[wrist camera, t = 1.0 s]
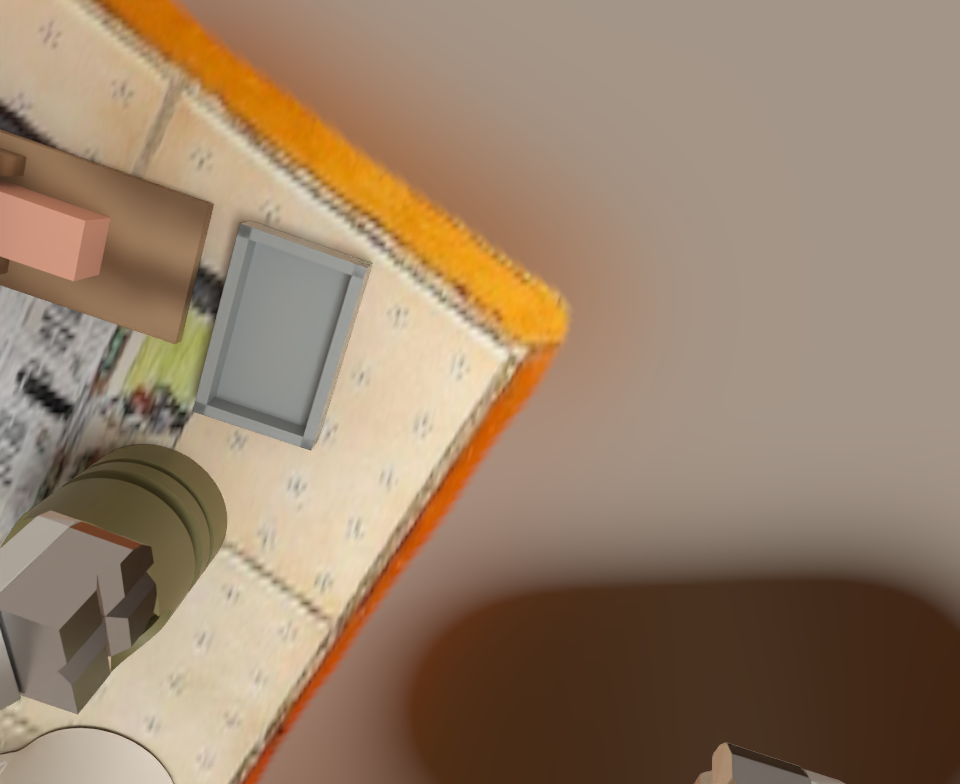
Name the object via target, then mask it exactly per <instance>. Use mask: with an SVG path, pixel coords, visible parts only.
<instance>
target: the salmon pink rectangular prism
mask: <svg viewBox="0 0 960 784" xmlns="http://www.w3.org/2000/svg"><path fill="white" fill-rule="evenodd" d="M109 223H110V218H109V217H106V216H104V215H101V214H98V213H95V212H92V211H89V210H86V209H83V208H81V207H78V206H75V205H72V204H69V203H66V202H63V201H60V200H58V199H55V198H52V197H49V196H46V195H43V194H40V193H37V192H35V191H32V190H29V189H26V188H23V187H20V186H17V185H14V184H12V183H9V182H6V181H3V180H0V256H1V257H3V258H6V259H9V260H12V261H15V262H18V263H21V264H24V265H27V266H30V267H33V268H36V269H39V270H42V271H45V272H48V273H51V274H53V275H56V276H59V277H62V278H65V279H68V280H71V281H77V280H81V279H85V278H88V277H92V276H96V275H99V273H100V268H101V263H102V258H103V253H104V248H105V243H106V238H107V233H108V228H109Z"/></svg>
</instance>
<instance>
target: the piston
mask: <svg viewBox="0 0 960 784" xmlns="http://www.w3.org/2000/svg"><path fill="white" fill-rule="evenodd" d="M48 511H54V512H57V513H60V514H63V515H66V516H69V517H72V518H74V519H77V520H80V521H83V522H86V523H88V524H90V525H93V526H96V527H99V528H102V529H104V530H107V531H110V532H113V533H115V534H118V535H121V536H124V537H126V538H129V539H132V540H135V541H137V542H140V543H143V544H146V545H149V546H151V548H152V554H153V560H154V563H153V564H152V566H151V567H150V568H149V569H148V570H147V573H148V574H149V575H150V577H151V578H152V579H153V581H154V582H155V583H156V589H157V598H156V603H155V608H154V612H153V614H152V616H151V618H150V620H149V622H148V624H147V626H146V628H145V630H144V631H143V633H142V634H141V635H140V637H139V638H138V639H137V641H136V642H135V643H134V645H133V646H132V647H131V648H129V649H126V650H124V651H122V652H120V653H118V654H116V655H113V656H111V672H112V671H113V670H114V669H115V668H116V667H117V666H118V665H119V664H120V663H121V662H122V661H124V660H125V659H126V658H127V657H128V656H130V655H131V654H132V653H134V652H135V651H136V650H137V649H139V648H140V647H141V646H143V645H144V644H145V643H146V642H147V641H149V640H150V639H151V638H152V637H153V636H154V635H156V634H157V633H158V632H159V631H160V630H161V629H162V627H163V626H164V625H165V624H166V623H167V621H168V620H169V618H170V617H171V616H172V614H173V613H174V612H175V610H176V609H177V607H178V606H179V605H180V603H181V602H182V601H183V599H184V598H185V596H186V595H187V593H188V592H189V591H190V590H191V588H192V587H193V586H194V584H195V583H196V581H197V580H198V579H199V577H200V576H201V574H202V573H203V572H204V571H205V569H206V568H207V566H208V565H209V564H210V562H211V561H212V560H213V558H214V557H215V555H216V554H217V553H218V551H219V549H220V548H221V546H222V544H223V541H224V538H225V534H226V529H227V512H226V507H225V503H224V500H223V497H222V495H221V492H220V490H219V489H218V487H217V485H216V483H215V482H214V481H213V479H212V478H211V477H210V475H209V474H208V473H207V472H206V471H205V470H204V469H203V468H202V467H201V466H200V465H198V464H197V463H196V462H195V461H193V460H192V459H190V458H189V457H187V456H185V455H183V454H181V453H179V452H177V451H175V450H172V449H169V448H166V447H162V446H157V445H148V444H139V445H130V446H125V447H122V448H119V449H116V450H114V451H112V452H110V453H108V454H106V455H105V456H103V457H102V458H101V459H99V460H98V461H97V462H95V463H94V464H92V465H91V466H90V467H88V468H87V469H86V470H84V471H83V472H82V473H80V474H79V475H77V476H76V477H75V478H73V479H72V480H70V481H69V482H68V483H66V484H65V485H64V486H63V487H61V488H60V489H58V490H57V491H55V492H54V493H53V494H51V495H50V496H48V497H47V498H46V499H44V500H43V501H42V502H40V503H39V504H37V505H36V506H35V507H33V508H32V509H31V510H29V511H28V512H26V513H25V514H24V515H23V516H22V517H21V518H20V519H19V520H18V522H17V523H16V524H15V526H14V527H13V528H12V530H11V531H10V533H9V535H8V536H7V538H6V539H5V541H4V543H3V544H2V546H4V545H5V544H6V543H7V542H8V541H9V540H10V539H11V538H13V537H14V536H15V535H16V534H17V533H18V532H19V531H21V530H22V529H23V528H24V527H25V526H26V525H27V524H28V523H30V522H31V521H32V520H33V519H34V518H35V517H37V516H39V515H41V514H43V513H46V512H48ZM2 546H1V547H2Z"/></svg>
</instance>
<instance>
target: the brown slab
mask: <svg viewBox="0 0 960 784" xmlns="http://www.w3.org/2000/svg"><path fill="white" fill-rule="evenodd" d="M0 180H3V181H6V182H9V183H12V184H14V185H17V186H20V187H23V188H26V189H29V190H32V191H35V192H37V193H40V194H43V195H46V196H49V197H52V198H55V199H58V200H60V201H63V202H66V203H69V204H72V205H75V206H78V207H81V208H83V209H86V210H89V211H92V212H95V213H98V214H101V215H104V216H106V217H109V218H110V223H109V228H108V233H107V238H106V243H105V248H104V253H103V258H102V263H101V268H100V273H99V275H96V276H92V277H88V278H85V279H81V280H77V281H71V280H68V279H65V278H62V277H59V276H56V275H53V274H51V273H48V272H45V271H42V270H39V269H36V268H33V267H30V266H27V265H24V264H21V263H18V262H15V261H12V260H9V259H6V258H3V257H1V256H0V285H2V286H5V287H8V288H11V289H13V290H16V291H19V292H22V293H25V294H28V295H31V296H34V297H37V298H40V299H43V300H46V301H49V302H52V303H55V304H58V305H61V306H64V307H67V308H70V309H73V310H76V311H79V312H82V313H85V314H88V315H91V316H94V317H96V318H99V319H102V320H105V321H108V322H111V323H114V324H117V325H120V326H123V327H126V328H129V329H132V330H135V331H138V332H141V333H144V334H147V335H150V336H153V337H156V338H159V339H162V340H165V341H168V342H171V343H174V344H176V343H178V342H180V341H181V339H182V335H183V330H184V326H185V322H186V318H187V314H188V310H189V305H190V301H191V297H192V293H193V289H194V285H195V280H196V276H197V272H198V268H199V264H200V260H201V255H202V251H203V247H204V243H205V239H206V235H207V230H208V226H209V222H210V218H211V214H212V210H213V205H214V204H211V203H208V202H206V201H203V200H200V199H197V198H194V197H191V196H189V195H186V194H183V193H180V192H177V191H174V190H172V189H169V188H166V187H163V186H160V185H157V184H155V183H152V182H149V181H146V180H143V179H140V178H138V177H135V176H132V175H129V174H126V173H123V172H121V171H118V170H115V169H112V168H109V167H106V166H104V165H101V164H98V163H95V162H92V161H89V160H87V159H84V158H81V157H78V156H75V155H72V154H70V153H67V152H64V151H61V150H58V149H55V148H53V147H50V146H47V145H44V144H41V143H38V142H36V141H33V140H30V139H27V138H24V137H21V136H19V135H16V134H13V133H10V132H7V131H4V130H2V129H0Z"/></svg>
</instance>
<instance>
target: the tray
mask: <svg viewBox="0 0 960 784" xmlns="http://www.w3.org/2000/svg"><path fill="white" fill-rule="evenodd" d="M371 267H372V263H370V262H367V261H364V260H361V259H358V258H355V257H353V256H350V255H347V254H344V253H341V252H338V251H336V250H333V249H330V248H327V247H324V246H321V245H319V244H316V243H313V242H310V241H307V240H304V239H302V238H299V237H296V236H293V235H290V234H287V233H285V232H282V231H279V230H276V229H273V228H270V227H268V226H265V225H262V224H259V223H256V222H253V221H249V222H244V223H240V225H239V229H238V233H237V237H236V241H235V245H234V249H233V253H232V257H231V261H230V265H229V269H228V273H227V277H226V281H225V285H224V289H223V293H222V297H221V301H220V305H219V309H218V313H217V317H216V321H215V325H214V329H213V333H212V337H211V341H210V345H209V348H208V352H207V356H206V360H205V364H204V368H203V372H202V376H201V380H200V384H199V388H198V392H197V396H196V400H195V404H194V408H193V412H196V413H199V414H202V415H205V416H208V417H211V418H214V419H217V420H220V421H223V422H226V423H229V424H232V425H235V426H238V427H241V428H244V429H248V430H251V431H254V432H257V433H260V434H263V435H266V436H269V437H272V438H275V439H278V440H281V441H284V442H287V443H290V444H293V445H296V446H299V447H302V448H305V449H308V450H312V448H313V447H314V445H315V444H316V442H317V441H318V439H319V436H320V433H321V430H322V427H323V423H324V420H325V417H326V414H327V410H328V407H329V404H330V401H331V397H332V394H333V391H334V388H335V384H336V381H337V378H338V375H339V371H340V368H341V365H342V362H343V358H344V355H345V352H346V349H347V345H348V342H349V339H350V336H351V332H352V329H353V326H354V323H355V319H356V316H357V313H358V310H359V306H360V303H361V300H362V297H363V293H364V290H365V287H366V284H367V280H368V277H369V274H370V271H371Z"/></svg>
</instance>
